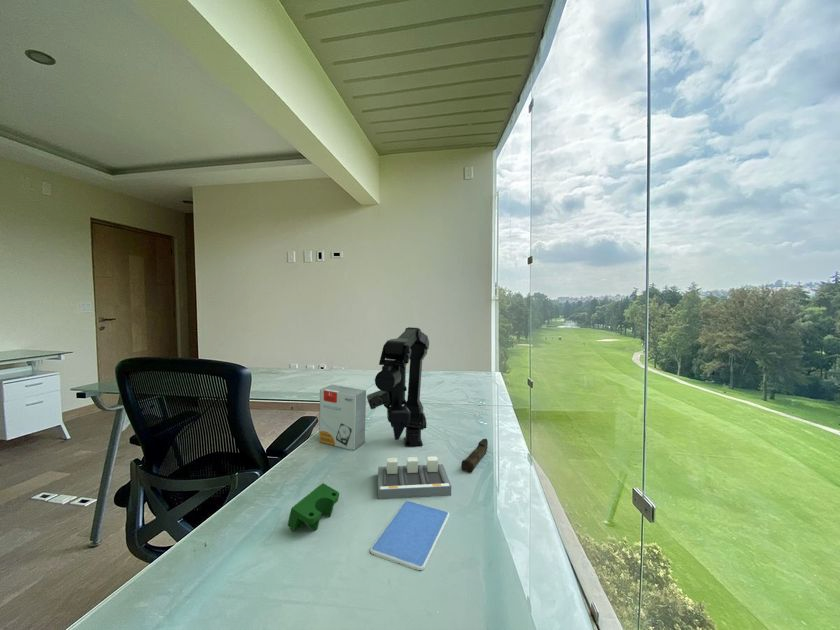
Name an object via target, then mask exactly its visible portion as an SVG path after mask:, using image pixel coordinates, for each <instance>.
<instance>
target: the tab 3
mask: <svg viewBox="0 0 840 630" xmlns="http://www.w3.org/2000/svg"><path fill="white" fill-rule="evenodd" d="M438 464H439V459H438V456H426V465H427V471H428V472H438Z"/></svg>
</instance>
